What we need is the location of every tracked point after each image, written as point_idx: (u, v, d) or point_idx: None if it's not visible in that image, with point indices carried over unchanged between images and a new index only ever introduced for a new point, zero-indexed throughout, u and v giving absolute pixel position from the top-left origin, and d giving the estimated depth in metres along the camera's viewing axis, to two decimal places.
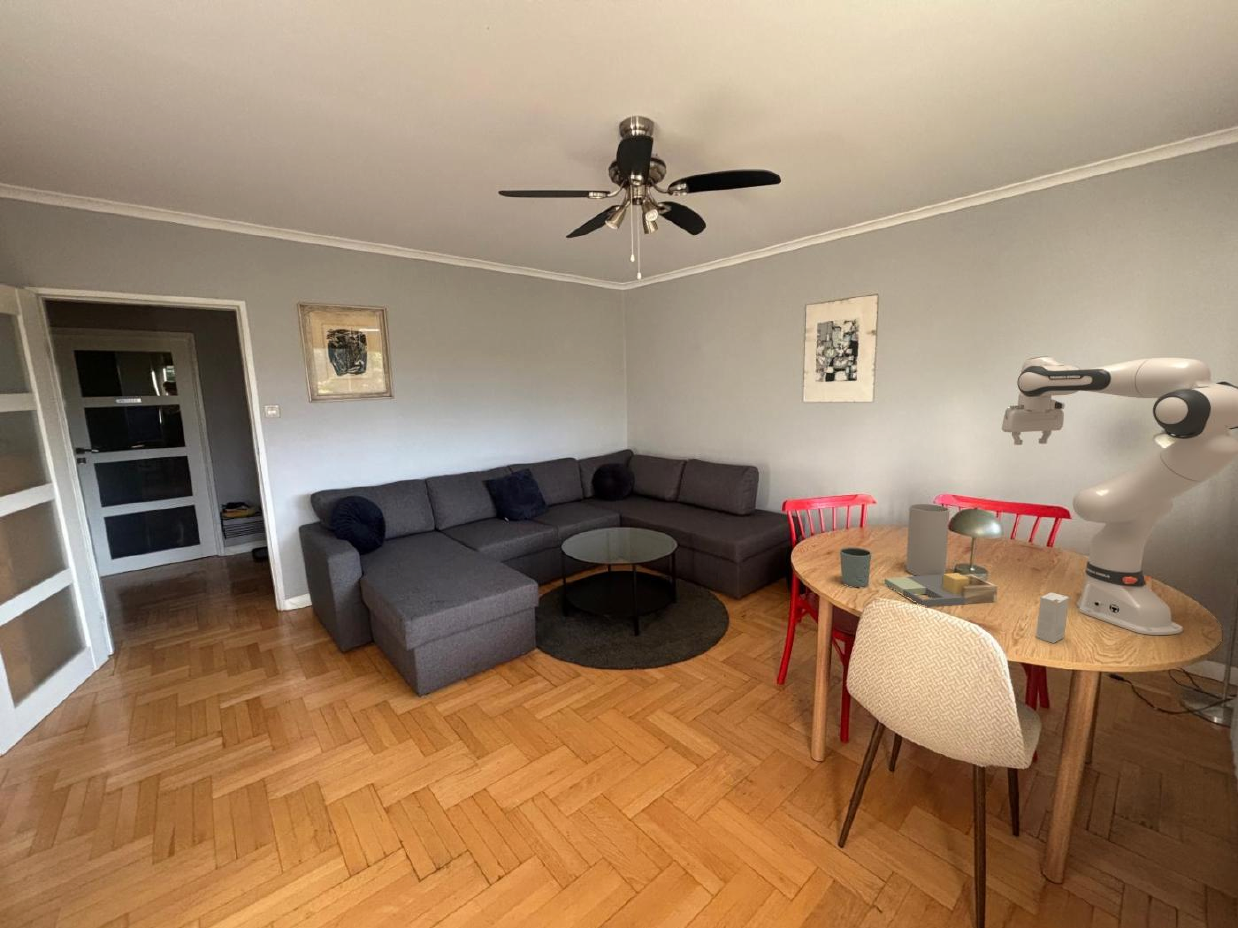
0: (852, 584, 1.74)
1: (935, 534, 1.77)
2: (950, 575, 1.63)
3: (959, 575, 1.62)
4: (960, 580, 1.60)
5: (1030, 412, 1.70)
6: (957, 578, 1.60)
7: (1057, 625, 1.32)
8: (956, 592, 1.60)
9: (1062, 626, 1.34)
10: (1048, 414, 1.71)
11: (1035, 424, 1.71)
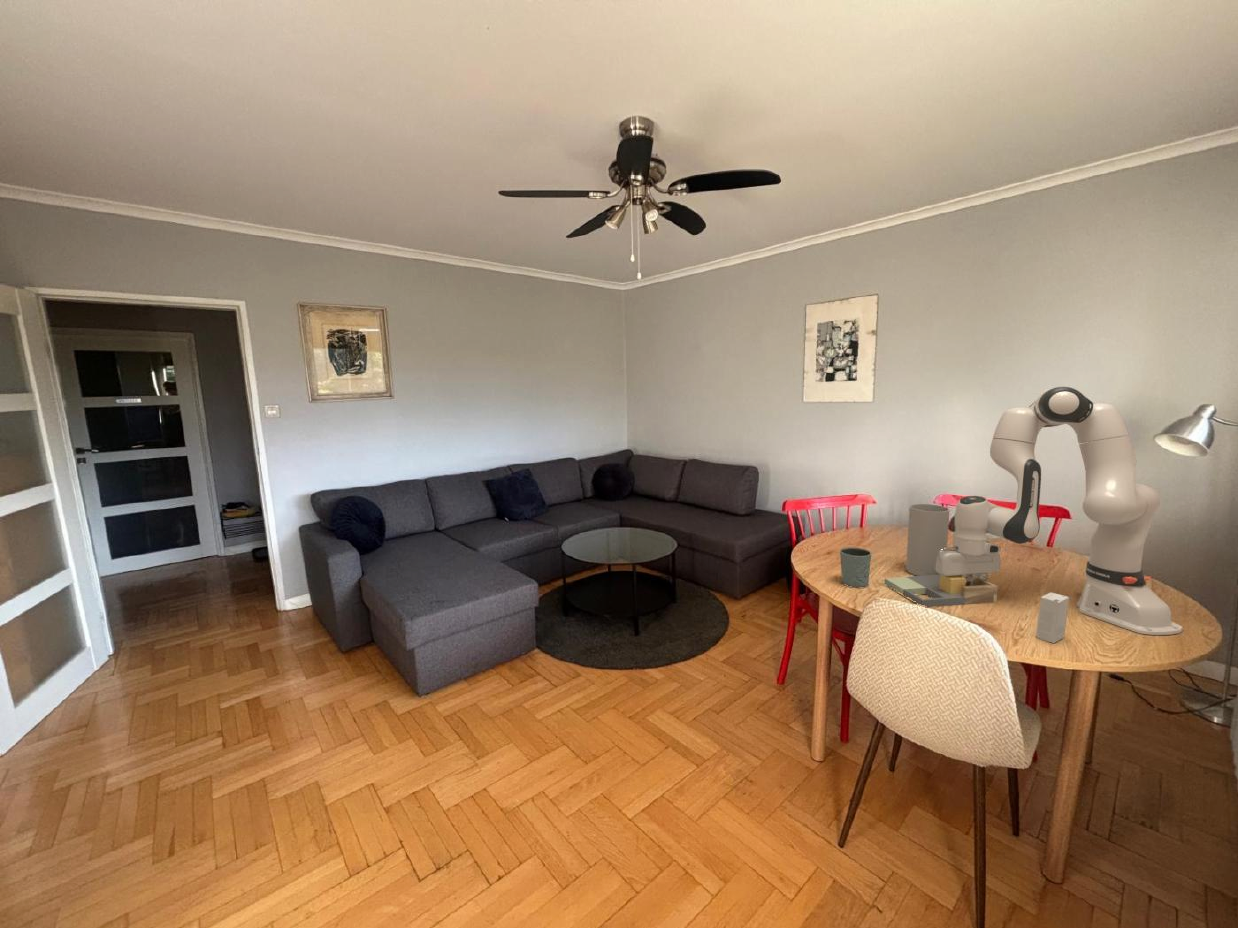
0: (852, 584, 1.74)
1: (935, 534, 1.77)
2: None
3: (955, 575, 1.62)
4: (957, 580, 1.60)
5: (964, 555, 1.60)
6: (954, 578, 1.60)
7: (1057, 625, 1.32)
8: (953, 592, 1.60)
9: (1062, 626, 1.34)
10: (984, 556, 1.60)
11: (969, 567, 1.60)
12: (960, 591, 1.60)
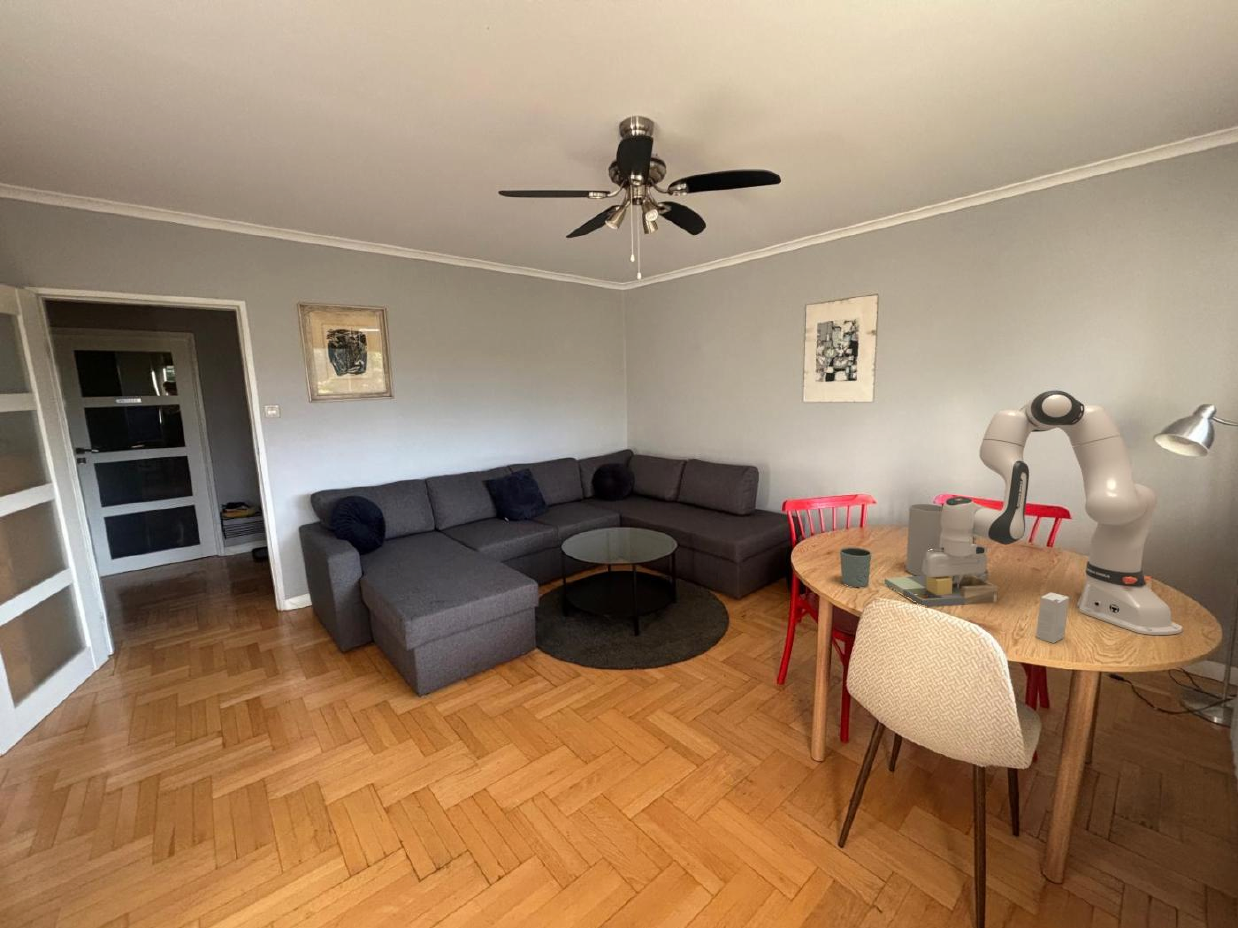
0: (852, 584, 1.74)
1: (935, 534, 1.77)
2: None
3: None
4: (943, 581, 1.59)
5: (950, 556, 1.59)
6: (940, 579, 1.60)
7: (1057, 625, 1.32)
8: (939, 593, 1.60)
9: (1062, 626, 1.34)
10: (970, 557, 1.60)
11: (956, 568, 1.60)
12: (947, 592, 1.60)
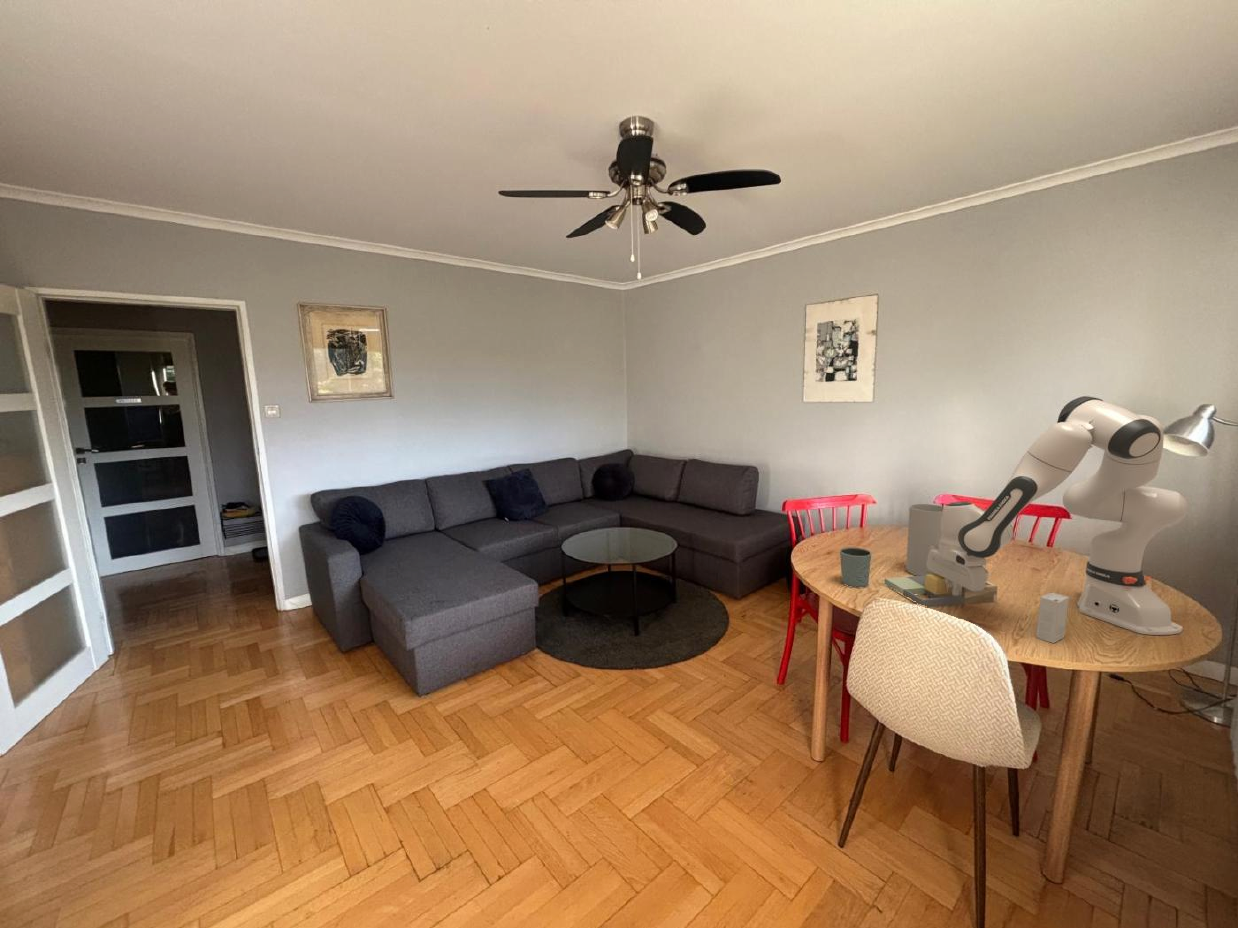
0: (852, 584, 1.74)
1: (935, 534, 1.77)
2: (932, 576, 1.63)
3: (941, 576, 1.62)
4: (942, 581, 1.60)
5: None
6: (939, 579, 1.60)
7: (1057, 625, 1.32)
8: (938, 593, 1.60)
9: (1062, 626, 1.34)
10: (958, 566, 1.53)
11: (947, 571, 1.58)
12: (945, 591, 1.61)
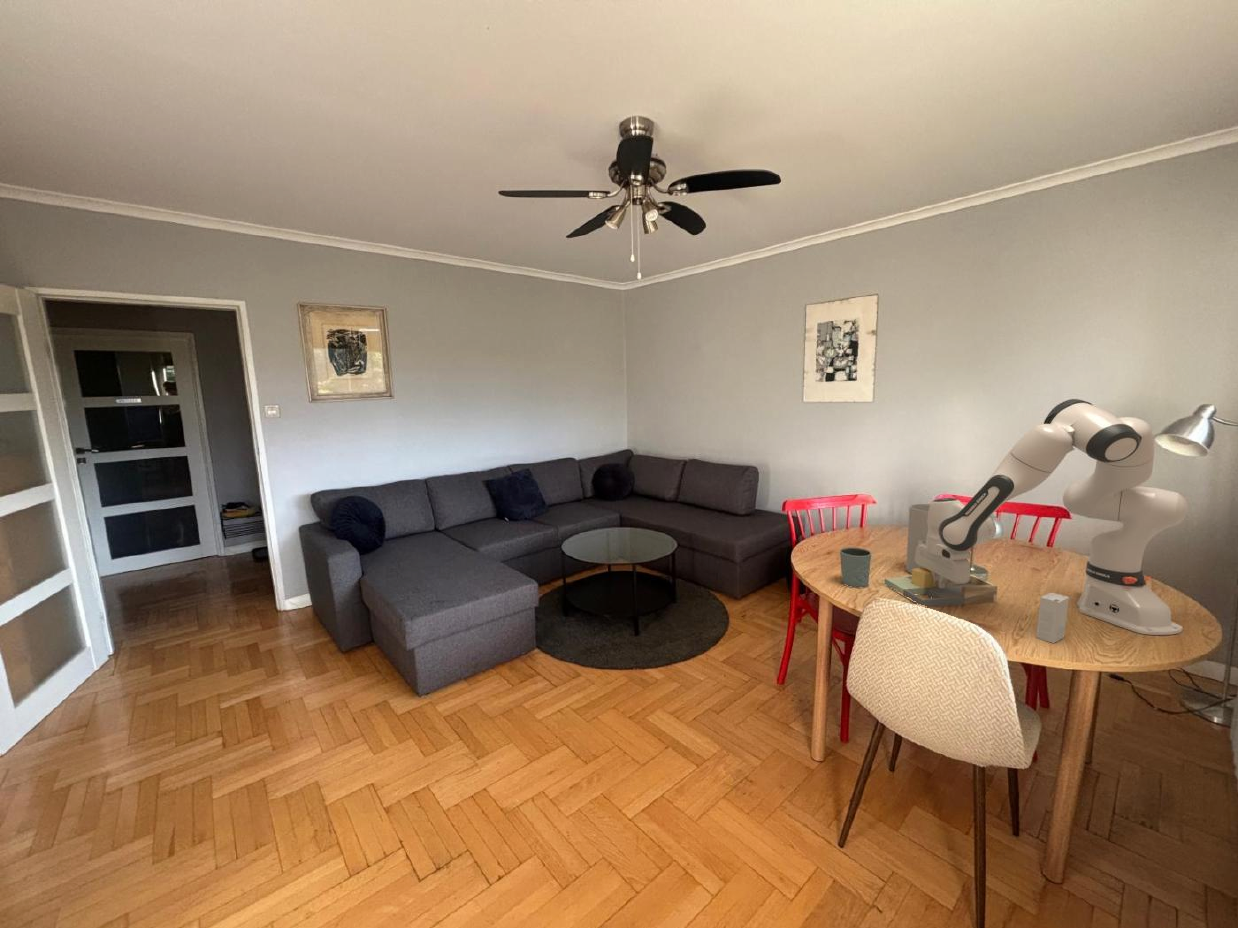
0: (852, 584, 1.74)
1: None
2: (918, 570, 1.68)
3: (926, 570, 1.68)
4: (929, 574, 1.65)
5: None
6: (926, 572, 1.66)
7: (1057, 625, 1.32)
8: (926, 586, 1.66)
9: (1062, 626, 1.34)
10: (943, 560, 1.58)
11: (933, 565, 1.63)
12: (931, 584, 1.66)
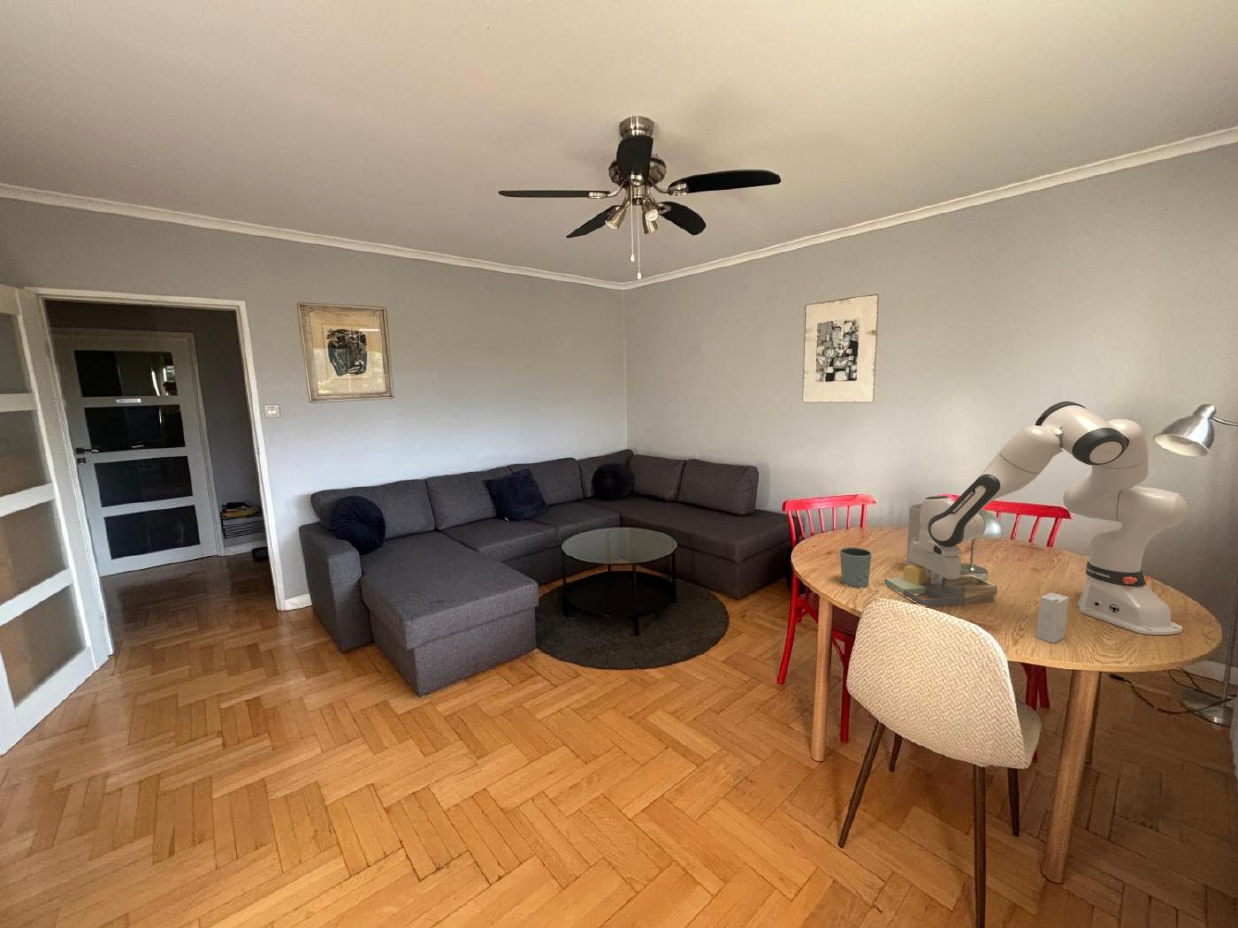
0: (852, 584, 1.74)
1: None
2: (911, 567, 1.71)
3: (917, 566, 1.72)
4: (922, 571, 1.69)
5: None
6: (919, 569, 1.69)
7: (1057, 625, 1.32)
8: (919, 582, 1.69)
9: (1062, 626, 1.34)
10: (935, 556, 1.62)
11: (926, 561, 1.67)
12: (923, 580, 1.70)
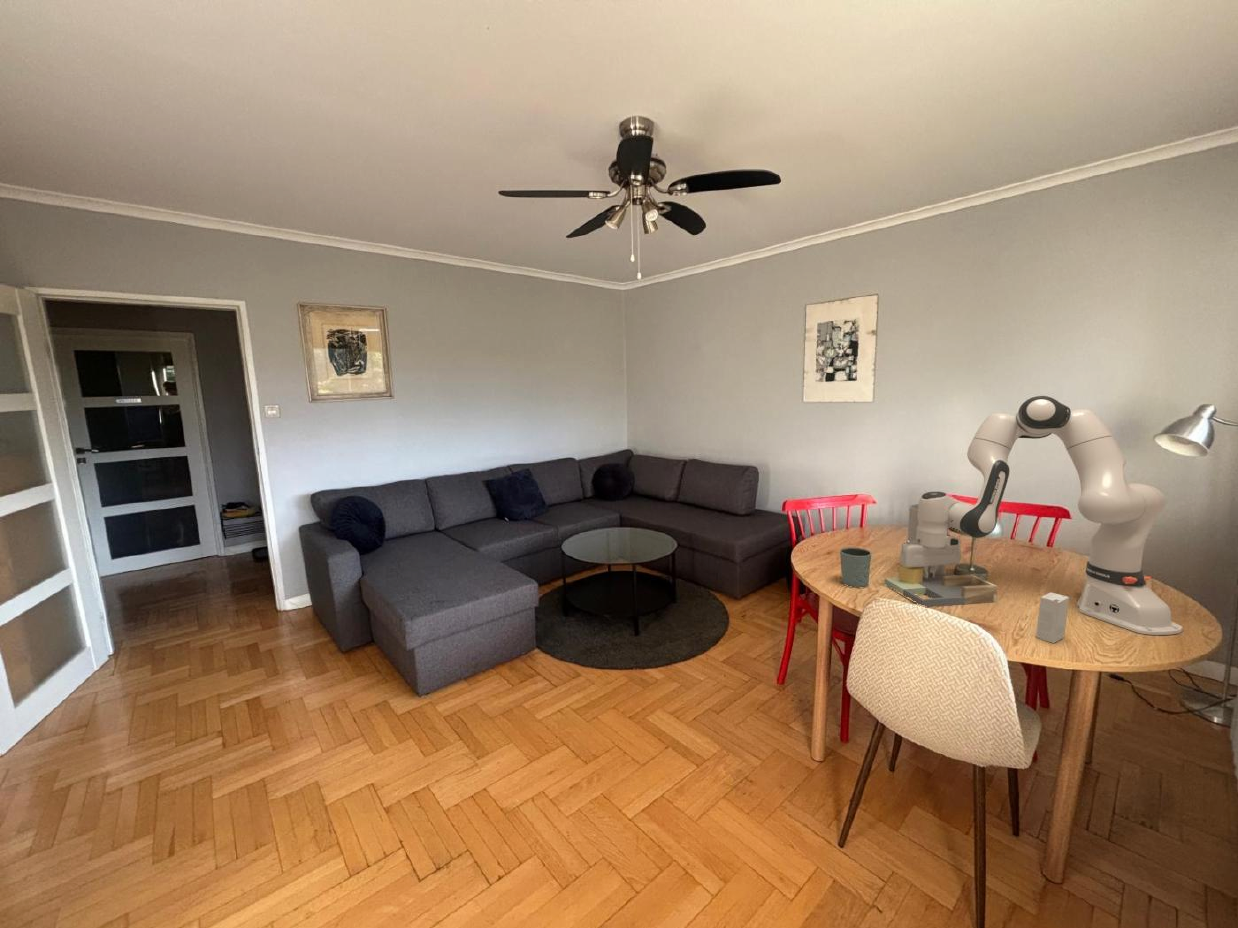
0: (852, 584, 1.74)
1: None
2: (906, 567, 1.72)
3: None
4: (917, 570, 1.69)
5: (926, 548, 1.68)
6: (914, 569, 1.69)
7: (1057, 625, 1.32)
8: (914, 582, 1.69)
9: (1062, 626, 1.34)
10: (945, 549, 1.68)
11: (931, 559, 1.69)
12: (919, 580, 1.70)
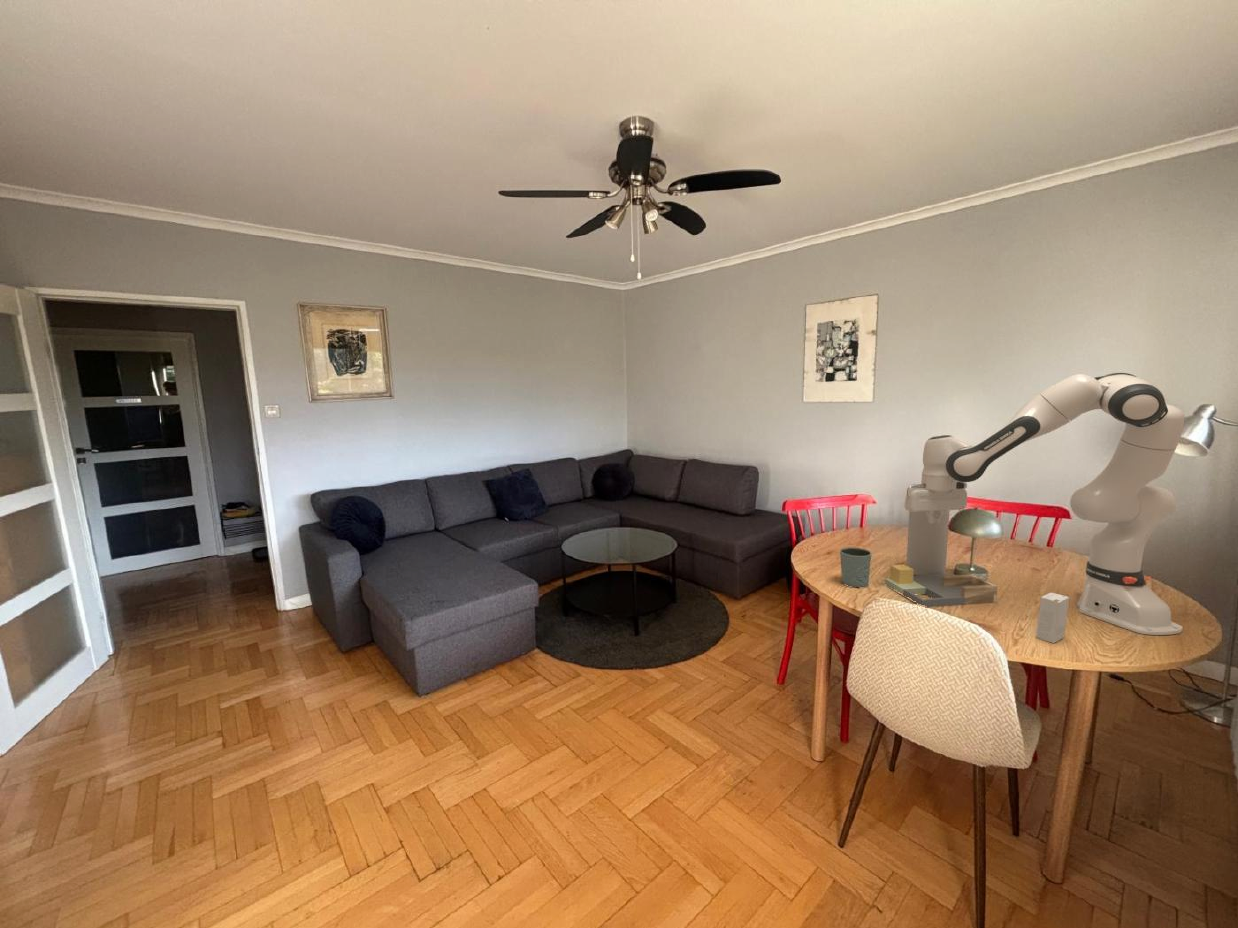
0: (852, 584, 1.74)
1: (935, 534, 1.77)
2: (896, 566, 1.72)
3: (904, 566, 1.72)
4: (905, 571, 1.69)
5: (932, 492, 1.65)
6: (902, 569, 1.70)
7: (1057, 625, 1.32)
8: (901, 582, 1.70)
9: (1062, 626, 1.34)
10: (951, 493, 1.65)
11: (937, 503, 1.66)
12: (908, 581, 1.70)
